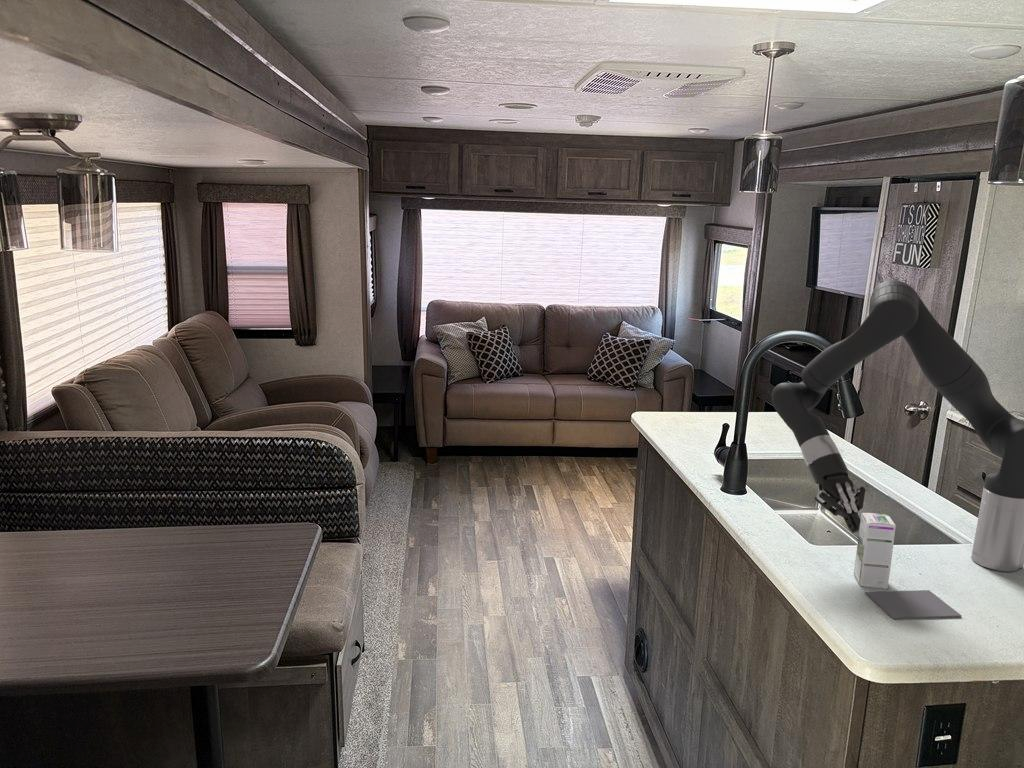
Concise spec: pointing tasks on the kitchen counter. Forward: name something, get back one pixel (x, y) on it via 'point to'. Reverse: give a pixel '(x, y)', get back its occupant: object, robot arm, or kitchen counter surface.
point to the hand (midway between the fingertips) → (857, 531)
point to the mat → (912, 604)
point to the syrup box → (874, 550)
